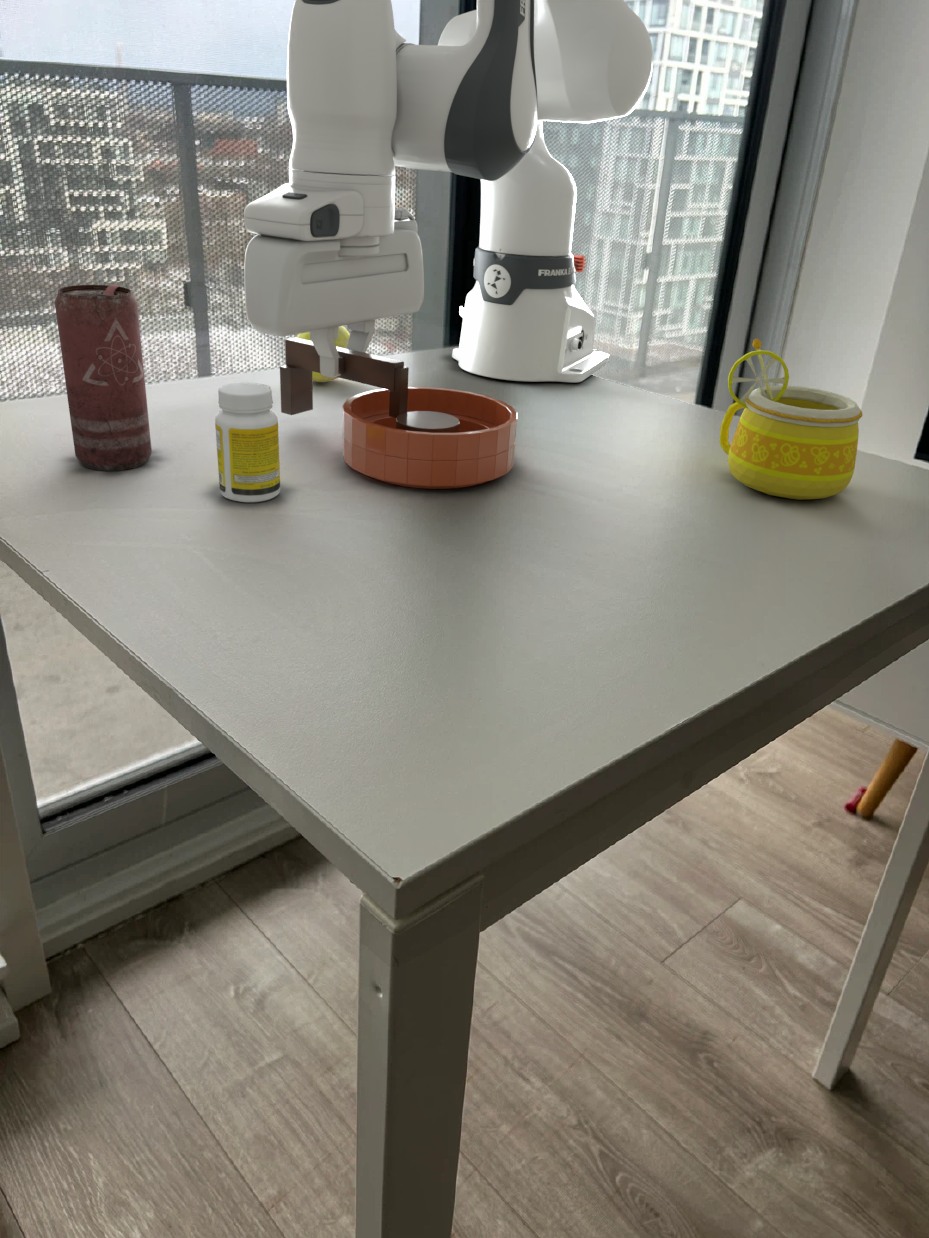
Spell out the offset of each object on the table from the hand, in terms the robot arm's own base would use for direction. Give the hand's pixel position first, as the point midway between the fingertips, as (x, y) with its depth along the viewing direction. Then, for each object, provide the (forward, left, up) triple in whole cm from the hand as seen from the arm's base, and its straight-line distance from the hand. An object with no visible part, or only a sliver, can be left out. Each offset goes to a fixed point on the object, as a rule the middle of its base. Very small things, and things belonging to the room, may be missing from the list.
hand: (342, 373), depth 86 cm
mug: (-18, +36, -6) cm, 41 cm away
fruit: (-16, -16, -6) cm, 23 cm away
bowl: (0, +10, -6) cm, 12 cm away
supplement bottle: (+16, +4, -6) cm, 18 cm away
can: (+18, -10, -6) cm, 22 cm away
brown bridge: (0, +3, -5) cm, 6 cm away
